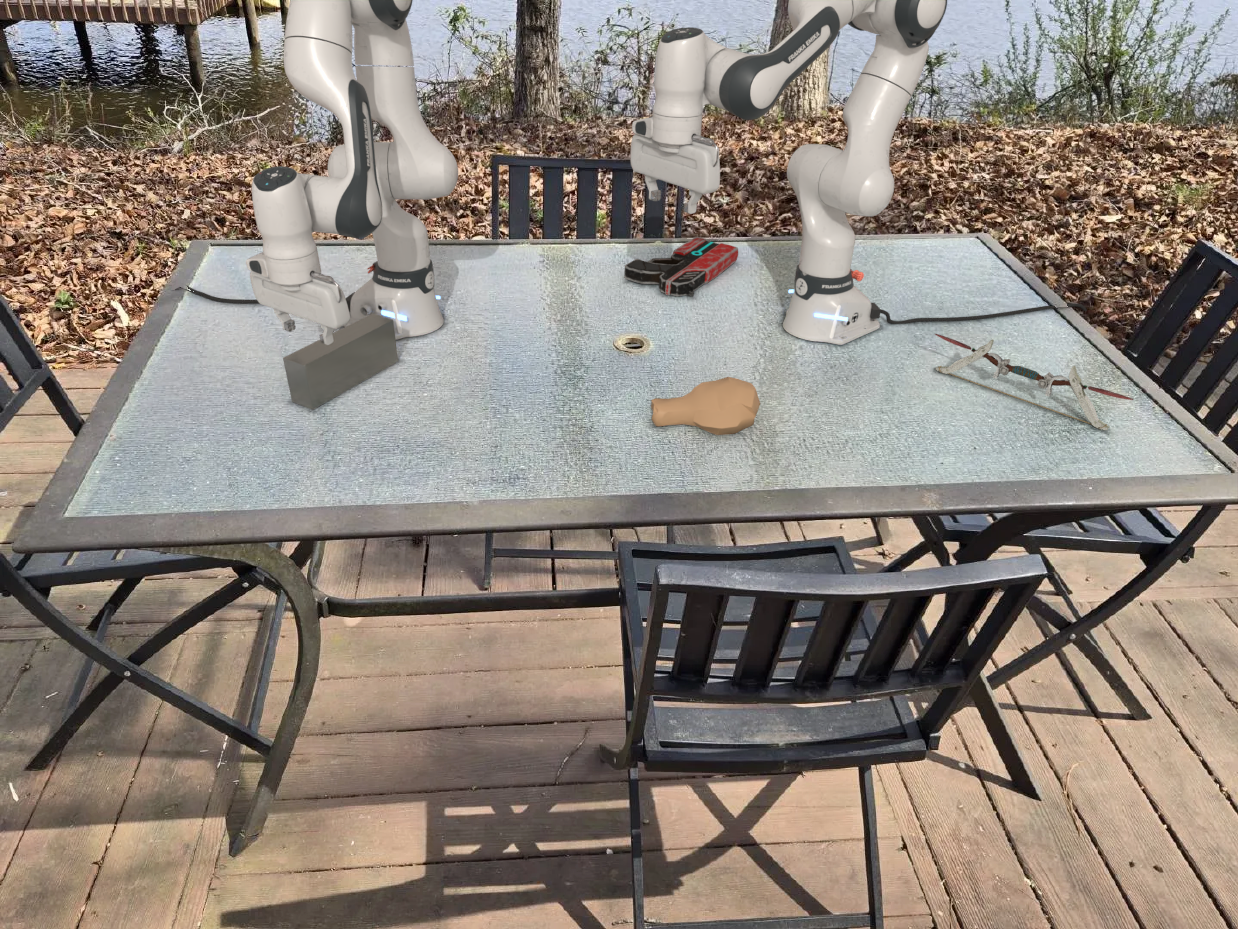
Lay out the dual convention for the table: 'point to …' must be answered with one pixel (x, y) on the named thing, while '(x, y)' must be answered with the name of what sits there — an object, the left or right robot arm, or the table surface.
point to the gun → (684, 267)
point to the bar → (341, 361)
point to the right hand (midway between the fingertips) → (672, 206)
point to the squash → (711, 407)
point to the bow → (1043, 381)
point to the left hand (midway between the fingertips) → (308, 336)
